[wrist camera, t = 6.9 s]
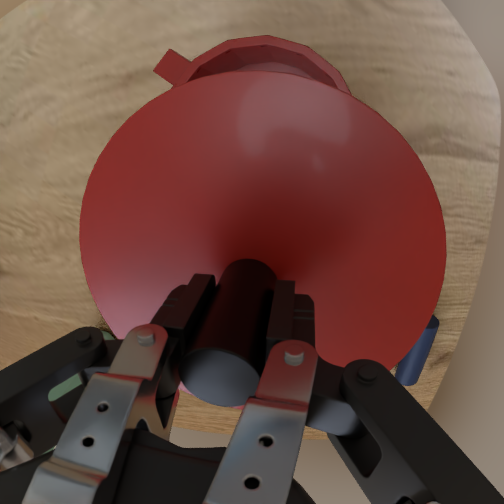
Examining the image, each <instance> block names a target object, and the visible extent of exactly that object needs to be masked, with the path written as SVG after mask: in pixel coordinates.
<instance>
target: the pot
mask: <svg viewBox="0 0 504 504" xmlns="http://www.w3.org/2000/svg"><path fill="white" fill-rule="evenodd" d="M244 70H267V71H276V72H285V73H292V74H296V75H300V76H304V77H307V78H311V79H314V80H318V81H321V82H324V83H326V84H328V85H331V86H333V87H335V88H337V89H339V90H342V91H344V92H346V93H348V94H350V95H352V94H351V92H350V90H349V89H348V87H347V85H346V83H345V81H344V79H343V77H342V75H341V74H340V72H339V71H338V70H337V69H335V68H334V67H333V66H332V65H331V64H329V63H328V62H327V61H326V60H325V59H323V58H322V57H321V56H320V55H318V54H317V53H316V52H315V51H313V50H312V49H311V48H309V47H307V46H305V45H302V44H298V43H295V42H292V41H288V40H285V39H281V38H277V37H273V36H270V35H264V36H254V37H246V38H238V39H231V40H227V41H225V42H223V43H221V44H219V45H218V46H216V47H214V48H212V49H211V50H209V51H207V52H205V53H204V54H202V55H200V56H199V57H197V58H195V59H194V60H193V61H192V62H190V61H189V60H187V59H186V58H184V57H183V56H181V55H180V54H178V53H177V52H175V51H174V50H172V49H169V50H168V51H167V52H166V54H165V55H164V56H163V58H162V59H161V60H160V62H159V63H158V64H157V66H156V67H155V69H154V70H153V71H154V72H155V73H156V74H158V75H159V76H161V77H162V78H164V79H165V80H166V81H168V82H169V83H171V84H172V85H173V87H172V88H174V87H176V86H179V85H181V84H184V83H187V82H189V81H192V80H195V79H197V78H200V77H204V76H209V75H214V74H219V73H224V72H229V71H244ZM172 88H171V89H172Z"/></svg>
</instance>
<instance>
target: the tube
mask: <svg viewBox="0 0 504 504" xmlns="http://www.w3.org/2000/svg"><path fill="white" fill-rule="evenodd" d="M438 327H439V320H438V319H437V318H436V317H435V316H433V315H432V316H431V319H430V321H429V323H428V324H427V326H426V328H425V329H424V331H423V333H422V334H421V336H420V338H419V339H418V341H417V342H416V343H415V344H414V346H413V347H412V348H411V349H410V351H409V352H408V353H407V354H406V356H405V357H404V358H403V359H402V360H401V361H400V362H399V364H398V367H397V370H396V373H395V378H396V379H397V380H398V381H399V382H400V383H401V384H402V385H405V386H411V385H414V384H415V383H416V382H417V381H418V378H419V376H420V374H421V371H422V369H423V367H424V364H425V362H426V359H427V357H428V354H429V351H430V349H431V346H432V343H433V341H434V338H435V335H436V332H437V330H438Z"/></svg>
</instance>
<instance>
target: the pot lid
mask: <svg viewBox="0 0 504 504" xmlns="http://www.w3.org/2000/svg"><path fill="white" fill-rule="evenodd" d="M79 242H80V250H81V259H82V264H83V268H84V272H85V276H86V280H87V283H88V286H89V289H90V291H91V294H92V296H93V299H94V301H95V303H96V305H97V307H98V309H99V311H100V313H101V315H102V317H103V318H104V320H105V321H106V323H107V324H108V326H109V327H110V329H111V330H112V332H113V333H114V334H115V336H116V337H117V338H118V339H125V337H126V335H127V333H128V332H129V331H130V330H131V329H133V328H135V327H137V326H140V325H144V324H149V323H150V321H151V320H152V318H153V317H154V315H155V314H156V312H157V311H158V309H159V308H160V307H161V306H162V304H163V302H164V301H165V299H167V296H168V295H169V294H170V292H171V291H172V290H173V289H175V288H176V287H178V286H179V285H181V284H184V285H187V284H188V283H189V281H190V280H191V278H192V277H193V275H194V274H195V273H200V274H212V275H214V276H215V280H216V288H215V290H214V292H213V294H212V296H211V298H210V300H209V302H208V304H207V306H206V308H205V310H204V312H203V314H202V316H201V318H200V320H199V322H198V324H197V326H196V328H195V331H194V333H193V335H192V337H191V339H190V341H189V343H188V345H187V347H186V349H185V351H184V353H183V355H182V357H181V360H180V362H179V365H178V374H179V377H180V380H181V382H180V385H179V387H178V388H179V389H181V390H183V391H184V392H186V393H188V394H191V395H193V396H196V397H197V398H199V399H201V400H203V401H205V402H207V403H210V404H213V405H217V406H223V407H231V408H236V409H242V410H243V407H244V405H245V403H246V400H247V398H248V397H249V396H254V394H255V392H256V389H257V386H258V384H259V381H260V378H261V376H262V373H263V370H264V368H265V365H266V363H265V350H266V335H267V329H268V324H269V318H270V313H271V307H272V302H273V296H274V290H275V284H276V279H278V280H293V281H295V294H308V295H309V296H310V297H311V299H312V300H313V301H314V307H315V312H314V313H315V347H316V351H317V353H318V355H319V356H320V357H321V358H322V359H324V360H325V361H327V362H329V363H331V364H334V365H337V366H340V367H344V368H345V366H346V365H347V364H348V363H350V362H352V361H354V360H358V359H369V360H374V361H376V362H379V363H380V364H382V365H383V366H385V367H386V368H387V369H388V371H390V370H391V369H392V368H393V367H394V366H395V365H396V364H397V363H398V362H399V361H401V360H402V359H403V358H404V357H405V356H406V354H407V353H408V352H409V351H410V349H411V348H412V347H413V346H414V344H415V343H416V342H417V341H418V339H419V338H420V336H421V334H422V333H423V331H424V329H425V328H426V326H427V324H428V323H429V321H430V319H431V316H432V314H433V312H434V309H435V307H436V305H437V302H438V299H439V296H440V292H441V288H442V284H443V281H444V274H445V265H446V231H445V225H444V220H443V215H442V210H441V206H440V203H439V200H438V197H437V194H436V191H435V189H434V186H433V183H432V181H431V179H430V177H429V175H428V173H427V172H426V170H425V168H424V166H423V164H422V163H421V161H420V159H419V157H418V156H417V154H416V153H415V152H414V150H413V149H412V148H411V147H410V145H409V144H408V143H407V142H406V140H405V139H404V138H403V136H402V135H401V134H400V133H399V132H398V131H397V130H396V129H395V128H394V127H393V126H392V125H391V124H390V123H388V122H387V121H386V120H385V119H384V118H383V117H382V116H381V115H380V114H379V113H377V112H376V111H375V110H373V109H372V108H370V107H369V106H367V105H366V104H364V103H363V102H361V101H360V100H358V99H357V98H355V97H354V96H352V95H350V94H348V93H346V92H344V91H342V90H339V89H337V88H335V87H333V86H331V85H328V84H326V83H324V82H321V81H318V80H314V79H311V78H307V77H304V76H300V75H296V74H292V73H285V72H276V71H267V70H244V71H229V72H224V73H219V74H214V75H209V76H204V77H200V78H197V79H195V80H192V81H189V82H187V83H184V84H181V85H179V86H176V87H174V88H172V89H170V90H168V91H167V92H165V93H163V94H161V95H160V96H158V97H156V98H154V99H153V100H151V101H149V102H148V103H147V104H146V105H144V106H143V107H142V108H141V109H139V110H138V111H137V112H136V113H134V114H133V115H132V116H131V117H130V118H129V119H128V120H127V121H126V122H125V123H124V124H123V125H122V126H121V127H120V128H119V129H118V131H117V132H116V133H115V134H114V135H113V136H112V138H111V139H110V140H109V142H108V143H107V145H106V146H105V148H104V150H103V151H102V153H101V154H100V156H99V157H98V160H97V162H96V164H95V166H94V168H93V170H92V172H91V175H90V177H89V180H88V183H87V186H86V190H85V193H84V197H83V201H82V208H81V214H80V231H79Z"/></svg>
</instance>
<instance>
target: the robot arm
mask: <svg viewBox="0 0 504 504" xmlns="http://www.w3.org/2000/svg"><path fill="white" fill-rule="evenodd" d="M215 288H216V280H215V276H214V275H212V274H200V273H195V274H194V275H193V277H192V278H191V280H190V281H189V283H188V284H187V285H184V284H181V285H179V286H178V287H176V288H175V289H173V290H172V291H171V292H170V294H169V295H168V296H167V299H165V301H164V302H163V304H162V306H161V307H160V308H159V309H158V311H157V312H156V314H155V315H154V317H153V318H152V320H151V321H150V323H149V324H144V325H140V326H137V327H135V328H133V329H131V330H130V331H129V332H128V333H127V335H126V337H125V339H118V340H105V339H104V336H103V333H102V331H101V330H100V329H98V328H96V327H82V328H79V329H76V330H74V331H72V332H70V333H69V334H67V335H65V336H63V337H61V338H59V339H57V340H56V341H54V342H52V343H50V344H48V345H46V346H45V347H43V348H41V349H39V350H37V351H35V352H34V353H32V354H30V355H28V356H26V357H24V358H23V359H21V360H19V361H17V362H15V363H14V364H12V365H10V366H8V367H6V368H4V369H3V370H1V371H0V504H316V503H315V502H314V501H313V500H312V498H311V497H310V496H309V495H308V493H307V492H306V491H305V490H304V488H303V487H302V486H301V485H300V484H299V483H298V482H297V481H296V480H295V479H294V478H293V474H294V471H295V466H296V462H297V458H298V454H299V450H300V445H301V441H302V437H303V432H304V427H305V426H308V427H311V428H315V429H318V430H321V431H324V432H327V436H328V438H329V439H330V441H331V443H332V444H333V446H334V447H335V449H336V450H337V452H338V454H339V455H340V457H341V458H342V460H343V461H344V463H345V464H346V466H347V467H348V469H349V471H350V472H351V474H352V475H353V477H354V478H355V480H356V481H357V483H358V484H359V486H360V487H361V489H362V490H363V492H364V493H365V495H366V496H367V498H368V499H369V501H370V502H371V504H504V498H503V496H501V494H500V493H499V492H498V491H497V490H496V488H494V486H493V485H492V484H491V483H490V482H489V481H488V480H487V478H486V477H485V476H484V475H483V474H482V473H481V471H480V470H479V469H478V468H477V467H476V466H475V465H474V464H473V462H472V461H471V460H470V459H469V458H468V457H467V456H466V455H465V454H464V452H463V451H462V450H461V449H460V448H459V447H458V446H457V445H456V444H455V443H454V441H453V440H452V439H451V438H450V437H449V436H448V435H447V434H446V432H445V431H444V430H443V429H442V428H441V427H440V426H439V425H438V424H437V423H436V422H435V420H433V418H432V417H431V416H430V415H429V414H428V413H427V412H426V411H425V409H424V408H423V407H422V406H421V405H420V404H419V403H418V402H417V401H416V400H415V399H414V397H413V396H412V395H411V394H410V393H409V392H408V391H407V390H406V389H405V388H404V387H403V386H402V384H401V383H400V382H399V381H398V380H397V379H396V378H395V377H394V376H393V375H392V374H391V373H390V372H389V371H388V369H387V368H386V367H385V366H383V365H382V364H380V363H379V362H376V361H374V360H369V359H358V360H354V361H352V362H350V363H348V364H347V365H346V366H345V368H344V367H340V366H337V365H334V364H331V363H329V362H327V361H325V360H324V359H322V358H321V357H320V356H319V355H318V353H317V351H316V347H315V313H314V312H315V307H314V301H313V300H312V299H311V297H310V296H309V295H308V294H295V281H293V280H278V279H276V284H275V290H274V296H273V302H272V307H271V313H270V318H269V324H268V329H267V335H266V350H265V363H266V365H265V368H264V370H263V373H262V376H261V378H260V381H259V384H258V386H257V389H256V392H255V394H254V396H249V397H248V398H247V400H246V403H245V405H244V407H243V410H242V412H241V415H240V417H239V420H238V422H237V425H236V427H235V430H234V432H233V434H232V437H231V439H230V442H229V444H228V447H227V448H226V447H214V448H182V447H179V446H177V445H175V444H173V443H171V442H169V437H170V431H171V427H172V423H173V419H174V415H175V411H176V407H177V403H178V399H179V388H178V387H179V385H180V382H181V380H180V377H179V374H178V365H179V362H180V360H181V357H182V355H183V353H184V351H185V349H186V347H187V345H188V343H189V341H190V339H191V337H192V335H193V333H194V331H195V328H196V326H197V324H198V322H199V320H200V318H201V316H202V314H203V312H204V310H205V308H206V306H207V304H208V302H209V300H210V298H211V296H212V294H213V292H214V290H215ZM76 374H78V376H79V378H80V381H81V383H82V384H80V385H79V386H77V387H75V388H74V389H72V390H71V391H69V392H67V393H66V394H64V395H62V396H61V397H59V398H57V399H56V400H54V401H49V399H48V394H49V392H50V390H51V389H52V388H54V387H56V386H57V385H59V384H61V383H62V382H64V381H66V380H67V379H69V378H71V377H72V376H74V375H76ZM56 445H57V446H56ZM54 446H56V448H55V449H54V450H51V451H49V452H47V453H45V452H46V451H48V450H50V449H51V448H53V447H54ZM43 453H45V454H43Z"/></svg>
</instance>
